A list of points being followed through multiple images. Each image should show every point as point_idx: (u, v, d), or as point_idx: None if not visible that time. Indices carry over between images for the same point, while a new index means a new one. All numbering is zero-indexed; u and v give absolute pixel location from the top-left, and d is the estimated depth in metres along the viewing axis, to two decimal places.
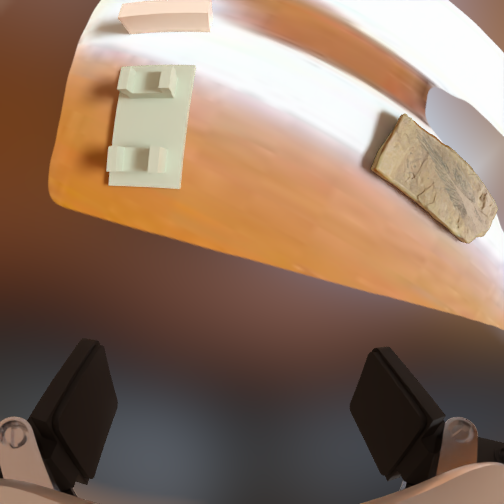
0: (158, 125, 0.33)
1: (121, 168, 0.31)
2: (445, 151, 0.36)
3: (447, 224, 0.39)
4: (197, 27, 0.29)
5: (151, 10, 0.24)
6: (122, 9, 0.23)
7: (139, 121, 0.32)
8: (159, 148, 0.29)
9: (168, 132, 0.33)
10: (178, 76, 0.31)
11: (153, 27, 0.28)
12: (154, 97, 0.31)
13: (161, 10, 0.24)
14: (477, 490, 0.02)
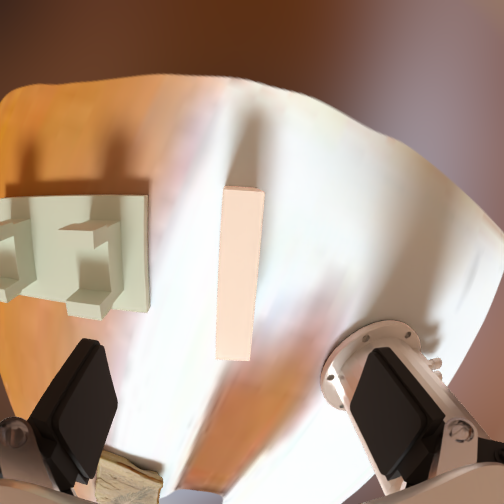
0: (58, 266, 0.22)
1: None
2: (152, 500, 0.32)
3: (96, 492, 0.32)
4: None
5: (229, 263, 0.18)
6: (246, 195, 0.17)
7: None
8: (6, 301, 0.17)
9: (53, 280, 0.22)
10: (126, 290, 0.23)
11: None
12: None
13: (226, 284, 0.18)
14: (477, 490, 0.02)
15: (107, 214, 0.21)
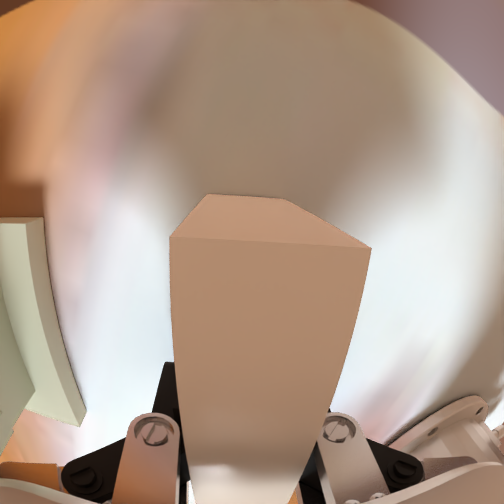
0: None
1: None
2: None
3: None
4: None
5: (220, 463, 0.05)
6: (289, 267, 0.03)
7: None
8: None
9: None
10: (39, 392, 0.09)
11: None
12: None
13: (214, 489, 0.05)
14: (477, 490, 0.02)
15: None
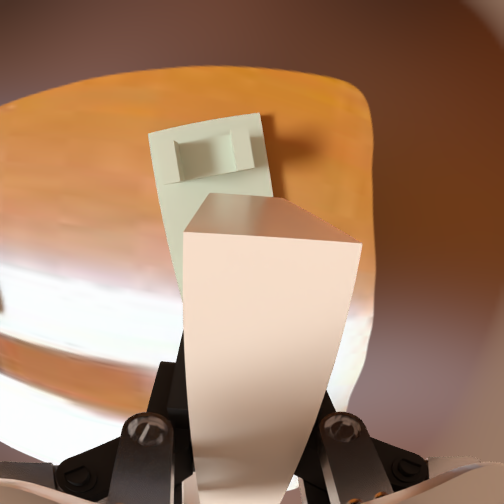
0: None
1: (230, 137, 0.20)
2: None
3: None
4: None
5: (223, 447, 0.05)
6: (288, 259, 0.04)
7: None
8: (164, 181, 0.19)
9: (184, 207, 0.25)
10: None
11: None
12: None
13: (216, 475, 0.05)
14: (477, 490, 0.02)
15: None
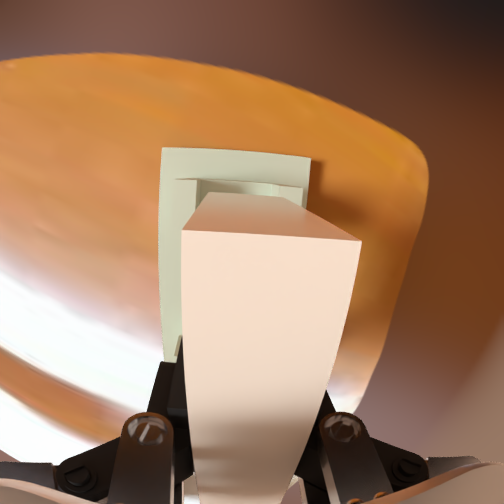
0: None
1: (272, 190, 0.16)
2: None
3: None
4: None
5: (222, 447, 0.05)
6: (287, 257, 0.04)
7: None
8: (172, 235, 0.14)
9: None
10: None
11: None
12: None
13: (216, 475, 0.05)
14: (477, 490, 0.02)
15: None
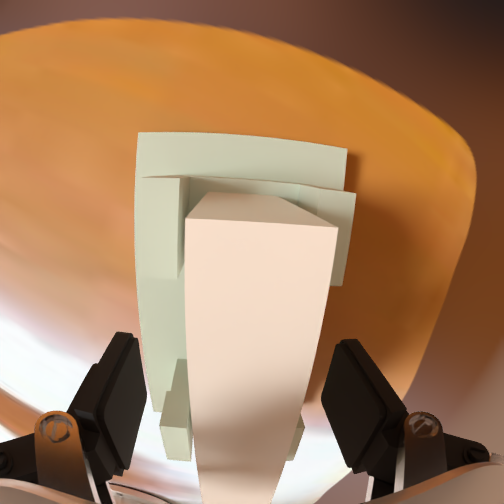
0: None
1: (301, 194, 0.10)
2: None
3: None
4: None
5: (220, 422, 0.06)
6: (274, 241, 0.05)
7: None
8: (142, 269, 0.08)
9: (177, 283, 0.14)
10: None
11: None
12: None
13: (215, 453, 0.06)
14: (477, 490, 0.02)
15: None
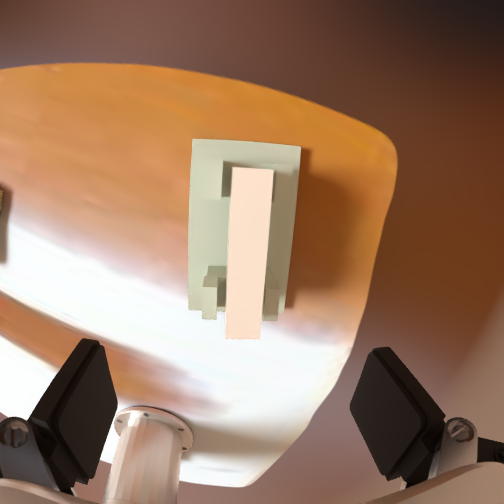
0: (226, 227, 0.27)
1: (272, 168, 0.23)
2: None
3: None
4: None
5: (239, 240, 0.18)
6: (256, 173, 0.17)
7: None
8: (205, 196, 0.21)
9: (211, 217, 0.27)
10: None
11: None
12: None
13: (236, 261, 0.19)
14: (477, 490, 0.02)
15: None
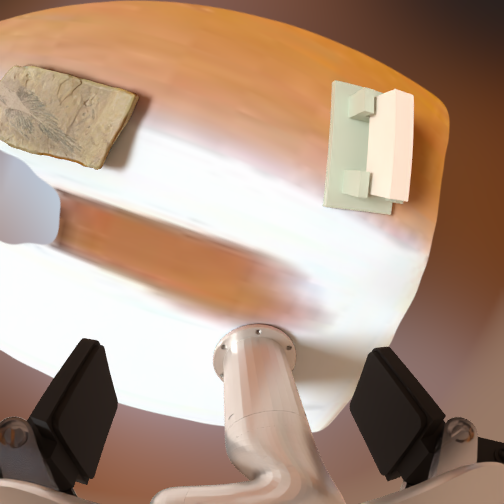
0: (357, 143, 0.33)
1: None
2: (43, 146, 0.28)
3: (42, 70, 0.25)
4: (371, 180, 0.30)
5: (400, 130, 0.25)
6: (406, 95, 0.24)
7: None
8: (365, 109, 0.27)
9: (348, 134, 0.33)
10: (341, 194, 0.35)
11: (376, 128, 0.28)
12: None
13: (398, 142, 0.25)
14: (477, 490, 0.02)
15: None
